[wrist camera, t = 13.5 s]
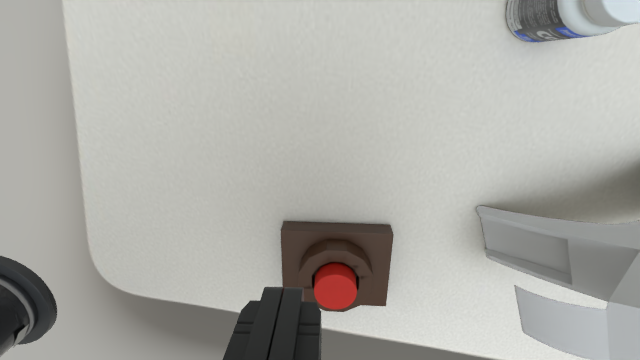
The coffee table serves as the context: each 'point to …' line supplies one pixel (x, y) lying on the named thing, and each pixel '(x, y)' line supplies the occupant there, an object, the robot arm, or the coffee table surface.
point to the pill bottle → (569, 18)
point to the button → (335, 286)
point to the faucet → (573, 280)
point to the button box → (338, 257)
